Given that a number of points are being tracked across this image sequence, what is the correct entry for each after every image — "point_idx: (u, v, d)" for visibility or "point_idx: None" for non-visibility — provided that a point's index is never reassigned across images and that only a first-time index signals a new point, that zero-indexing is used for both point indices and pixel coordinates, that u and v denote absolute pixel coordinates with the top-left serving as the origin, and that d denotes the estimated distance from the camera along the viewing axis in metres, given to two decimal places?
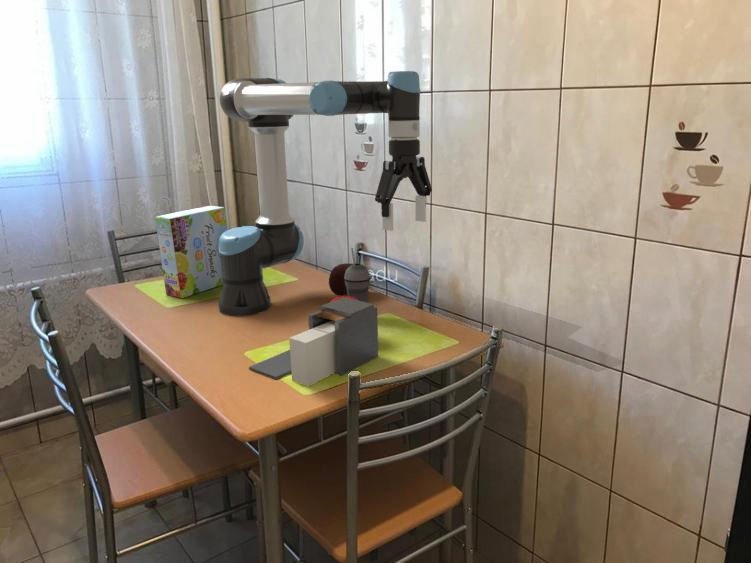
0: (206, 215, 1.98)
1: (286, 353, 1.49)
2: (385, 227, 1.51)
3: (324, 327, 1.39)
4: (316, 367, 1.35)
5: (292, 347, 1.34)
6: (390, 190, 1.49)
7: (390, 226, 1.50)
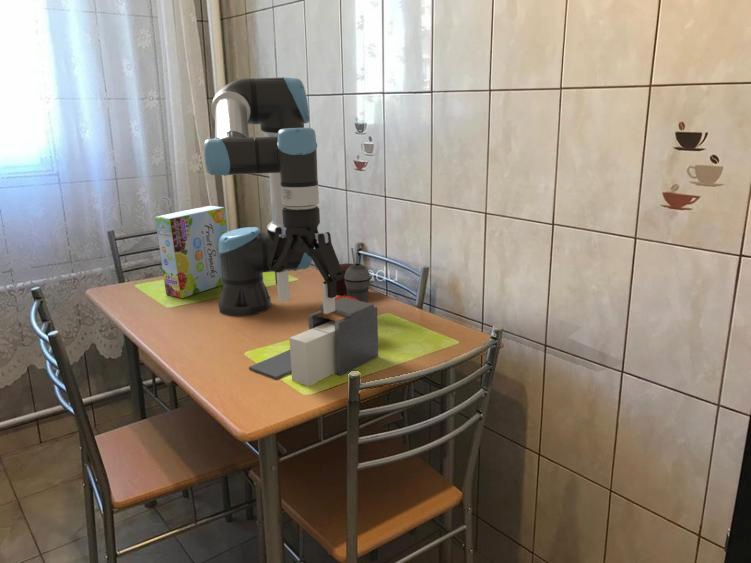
0: (206, 215, 1.98)
1: (286, 353, 1.49)
2: None
3: (324, 327, 1.39)
4: (317, 367, 1.35)
5: (293, 347, 1.34)
6: None
7: None
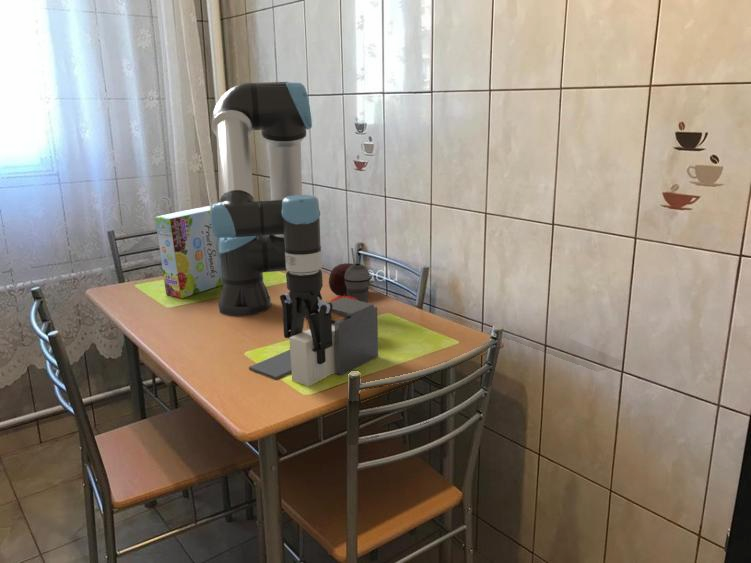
0: (206, 215, 1.98)
1: (286, 353, 1.49)
2: None
3: None
4: None
5: (292, 347, 1.34)
6: None
7: None
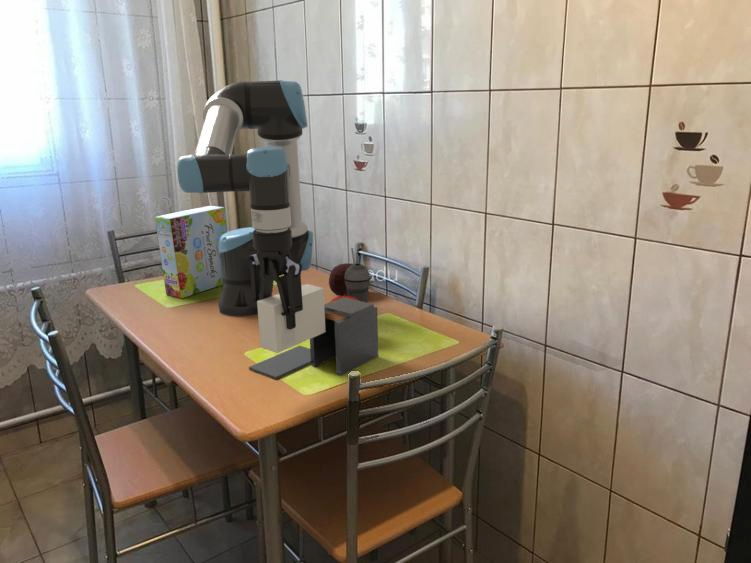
0: (206, 215, 1.98)
1: (286, 353, 1.49)
2: None
3: None
4: None
5: (260, 311, 1.25)
6: None
7: None
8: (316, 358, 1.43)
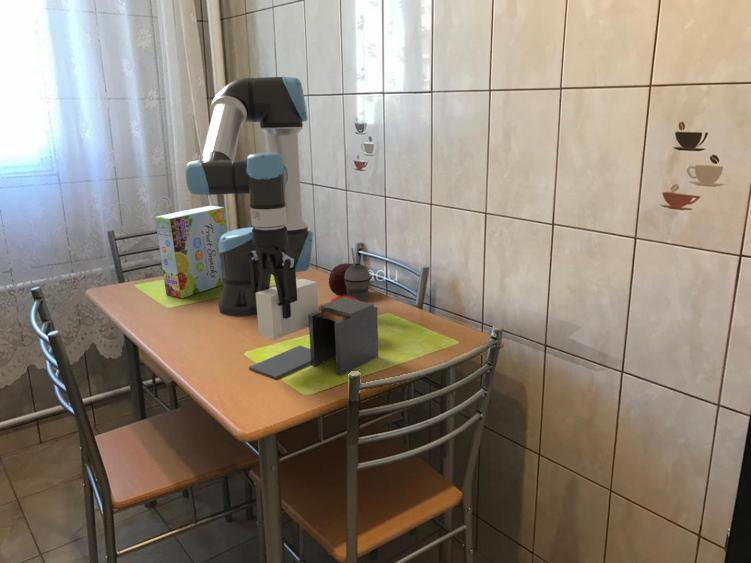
0: (206, 215, 1.98)
1: (286, 353, 1.49)
2: None
3: None
4: None
5: (259, 302, 1.37)
6: None
7: None
8: (316, 358, 1.43)
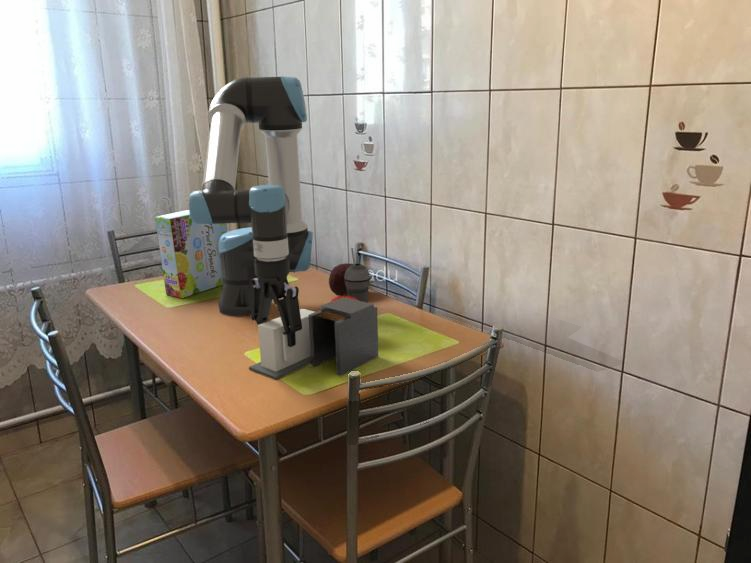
0: None
1: None
2: None
3: None
4: None
5: (261, 334, 1.40)
6: None
7: None
8: (316, 358, 1.43)
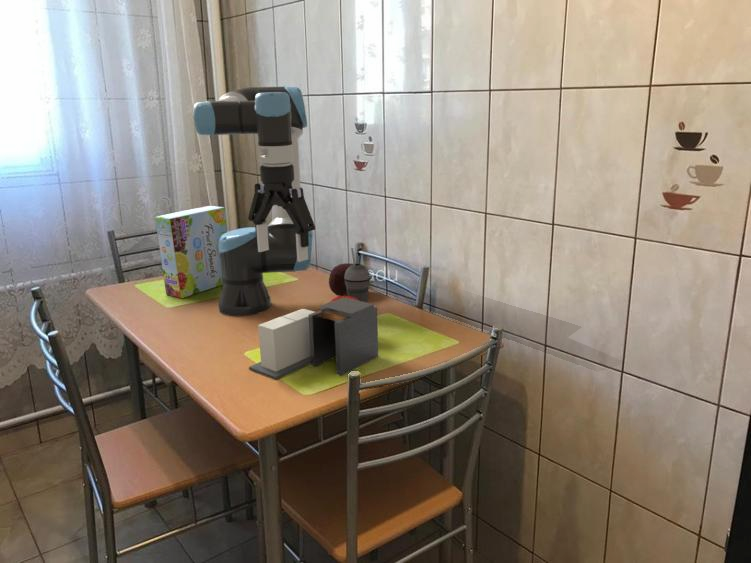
0: (206, 215, 1.98)
1: None
2: None
3: (292, 315, 1.45)
4: (284, 353, 1.41)
5: (261, 334, 1.40)
6: None
7: None
8: (316, 358, 1.43)
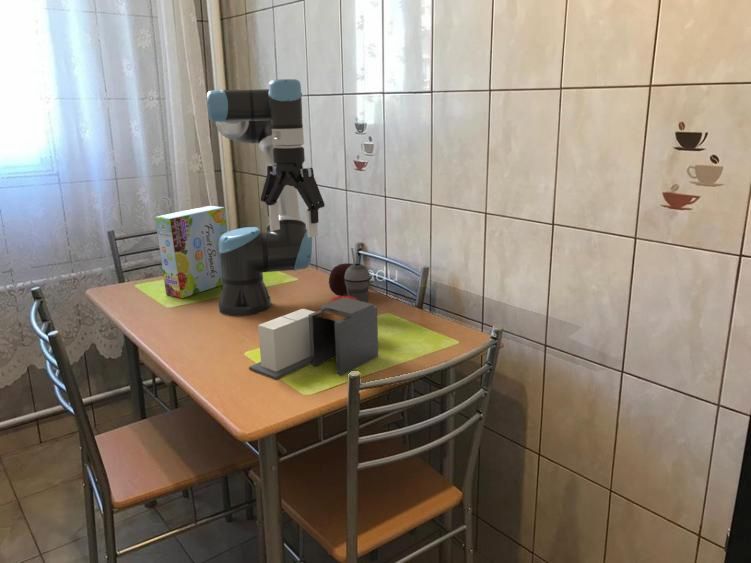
0: (206, 215, 1.98)
1: None
2: None
3: (292, 315, 1.45)
4: (284, 353, 1.41)
5: (261, 334, 1.40)
6: None
7: None
8: (316, 358, 1.43)
